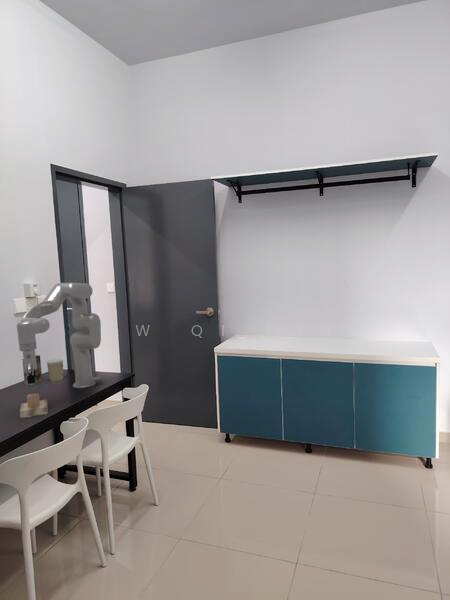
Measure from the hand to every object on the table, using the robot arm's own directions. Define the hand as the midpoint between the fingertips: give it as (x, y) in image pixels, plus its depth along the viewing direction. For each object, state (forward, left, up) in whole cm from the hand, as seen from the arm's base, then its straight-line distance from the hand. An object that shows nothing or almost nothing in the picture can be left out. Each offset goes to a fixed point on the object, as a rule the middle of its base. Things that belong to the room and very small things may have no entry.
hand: (32, 380), depth 209 cm
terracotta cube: (0, 0, -12) cm, 12 cm away
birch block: (0, 0, -16) cm, 16 cm away
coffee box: (+2, -55, -16) cm, 57 cm away
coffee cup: (-11, -55, -16) cm, 58 cm away
